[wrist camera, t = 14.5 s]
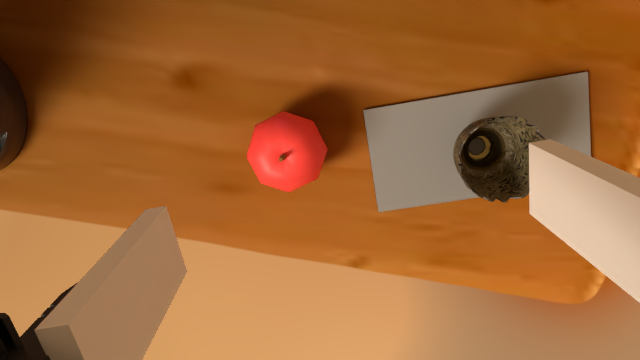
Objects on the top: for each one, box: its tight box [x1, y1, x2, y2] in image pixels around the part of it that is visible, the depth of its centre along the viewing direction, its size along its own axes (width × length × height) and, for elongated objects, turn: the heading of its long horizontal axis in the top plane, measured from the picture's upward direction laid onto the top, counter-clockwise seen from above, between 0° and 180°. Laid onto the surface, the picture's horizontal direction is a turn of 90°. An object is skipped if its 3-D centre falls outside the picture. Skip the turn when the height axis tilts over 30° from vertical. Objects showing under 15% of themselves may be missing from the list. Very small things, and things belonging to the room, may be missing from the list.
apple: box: [247, 111, 328, 192], centre depth 41 cm, size 8×8×8 cm
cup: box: [453, 116, 546, 203], centre depth 40 cm, size 8×7×8 cm
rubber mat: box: [363, 72, 591, 212], centre depth 44 cm, size 22×11×1 cm, turn 100°
